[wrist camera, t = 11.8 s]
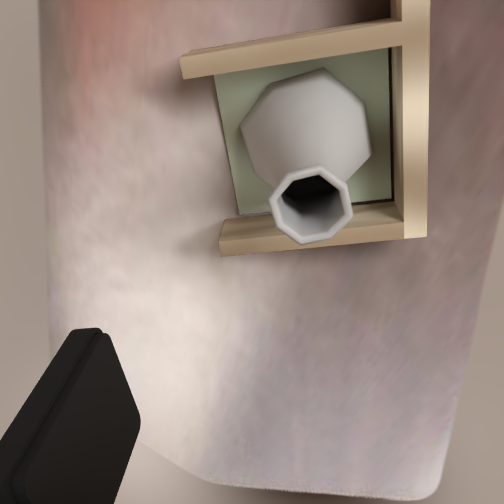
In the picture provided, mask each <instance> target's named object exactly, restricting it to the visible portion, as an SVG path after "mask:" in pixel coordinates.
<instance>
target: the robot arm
mask: <svg viewBox="0 0 504 504" xmlns="http://www.w3.org/2000/svg"><path fill="white" fill-rule="evenodd" d="M140 424H141V420H140V414H139V411H138V409H137V406H136V403H135V401H134V398H133V396H132V393H131V390H130V388H129V385H128V383H127V380H126V377H125V375H124V372H123V369H122V367H121V364H120V362H119V359H118V356H117V354H116V351H115V349H114V346H113V343H112V341H111V338H110V336H109V335H108V334H106V333H103V332H102V330H101V329H99V328H85V329H75V330H72V331H71V332H70V333H69V335H68V337H67V338H66V340H65V341H64V343H63V344H62V346H61V347H60V349H59V350H58V352H57V354H56V355H55V357H54V358H53V360H52V361H51V363H50V364H49V366H48V367H47V369H46V371H45V372H44V374H43V375H42V377H41V378H40V380H39V381H38V383H37V385H36V386H35V388H34V389H33V391H32V392H31V394H30V395H29V397H28V398H27V400H26V402H25V403H24V405H23V406H22V408H21V409H20V411H19V412H18V414H17V416H16V417H15V419H14V420H13V422H12V423H11V425H10V426H9V428H8V429H7V431H6V432H5V434H4V435H3V437H2V439H1V440H0V504H114V502H115V499H116V496H117V493H118V490H119V487H120V484H121V482H122V479H123V476H124V473H125V470H126V468H127V465H128V462H129V459H130V456H131V453H132V450H133V448H134V445H135V442H136V439H137V436H138V433H139V430H140Z"/></svg>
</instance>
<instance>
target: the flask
mask: <svg viewBox="0 0 504 504" xmlns="http://www.w3.org/2000/svg"><path fill="white" fill-rule="evenodd" d="M240 128H241V131H242V134H243V138H244V141H245V144H246V148H247V151H248V154H249V158H250V161H251V164H252V168H253V171H254V173H255V174H256V175H258V176H259V177H260V178H262V179H263V180H264V181H266V182H267V183H268V184H270V185H271V186H272V187H273V188H274V189H273V191H272V192H271V193H270V194H269V195H268V197H267V200H268V203H269V206H270V210H271V213H272V217H273V220H274V223H275V227H276V228H277V229H278V230H280V231H281V232H282V233H284V234H285V235H286V236H288V237H289V238H291V239H292V240H293V241H295V242H296V243H297V244H299V245H300V246H301V245H306V244H311V243H315V242H320V241H325V240H329V239H332V238H333V237H334V236H335V235H336V234H337V233H338V232H339V231H340V230H341V229H342V228H343V227H344V226H345V225H346V224H347V223H348V222H349V221H350V220H351V219H352V218H353V210H352V206H351V201H350V196H349V191H348V187H347V184H346V182H347V181H348V180H349V179H350V178H351V176H352V175H353V174H354V173H355V172H356V171H357V170H358V169H359V168H360V167H361V166H362V165H363V163H364V162H365V161H366V160H367V159H368V158H369V157H370V156H371V155H372V154H373V152H374V151H373V146H372V140H371V134H370V129H369V123H368V117H367V112H366V106H365V102H364V101H363V100H362V99H361V98H360V97H358V96H357V95H356V94H355V93H354V92H352V91H351V90H350V89H349V88H348V87H347V86H345V85H344V84H343V83H342V82H341V81H339V80H338V79H337V78H336V77H335V76H334V75H332V74H331V73H330V72H329V71H328V70H326V69H325V68H324V67H323V68H320V69H316V70H313V71H310V72H306V73H303V74H299V75H296V76H292V77H289V78H286V79H282V80H279V81H275V82H272V83H270V85H269V86H268V88H267V89H266V90H265V92H264V93H263V94H262V96H261V97H260V98H259V100H258V101H257V102H256V104H255V105H254V106H253V108H252V109H251V110H250V112H249V113H248V115H247V116H246V117H245V119H244V120H243V121H242V123H241V124H240Z"/></svg>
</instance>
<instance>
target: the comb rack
mask: <svg viewBox="0 0 504 504" xmlns="http://www.w3.org/2000/svg"><path fill="white" fill-rule="evenodd" d="M390 5H391V18H386V19H380V20H374V21H368V22H362V23H356V24H350V25H344V26H338V27H332V28H326V29H319V30H313V31H307V32H301V33H295V34H289V35H283V36H277V37H271V38H265V39H259V40H253V41H247V42H241V43H235V44H229V45H223V46H217V47H211V48H205V49H199V50H193V51H190V52H188V53H186V54H185V55H183V56H181V57H179V62H180V67H181V71H182V76H183V80H184V79H190V78H197V77H203V76H209V75H214V81H215V86H216V92H217V97H218V102H219V108H220V113H221V118H222V124H223V129H224V135H225V140H226V145H227V151H228V156H229V161H230V167H231V172H232V177H233V183H234V188H235V194H236V199H237V204H238V210H239V215H244V214H253V213H262V212H271V210H270V206H269V203H268V200H267V197H268V195H269V194H270V193H271V192H272V191H273V189H274V188H273V187H272V186H271V185H270V184H268V183H267V182H266V181H264V180H263V179H262V178H260V177H259V176H258V175H256V174H255V173H254V171H253V168H252V164H251V161H250V158H249V154H248V151H247V148H246V144H245V141H244V138H243V134H242V131H241V128H240V124H241V123H242V121H243V120H244V119H245V117H246V116H247V115H248V113H249V112H250V110H251V109H252V108H253V106H254V105H255V104H256V102H257V101H258V100H259V98H260V97H261V96H262V94H263V93H264V92H265V90H266V89H267V88H268V86H269V85H270V83H272V82H275V81H279V80H282V79H286V78H289V77H292V76H296V75H299V74H303V73H306V72H310V71H313V70H316V69H320V68H323V67H324V68H325V69H326V70H328V71H329V72H330V73H331V74H332V75H334V76H335V77H336V78H337V79H338V80H339V81H341V82H342V83H343V84H344V85H345V86H347V87H348V88H349V89H350V90H351V91H352V92H354V93H355V94H356V95H357V96H358V97H360V98H361V99H362V100H363V101H364V102H365V106H366V112H367V117H368V123H369V129H370V134H371V140H372V146H373V151H374V152H373V154H372V155H371V156H370V157H369V158H368V159H367V160H366V161H365V162H364V163H363V165H362V166H361V167H360V168H359V169H358V170H357V171H356V172H355V173H354V174H353V175H352V176H351V178H350V179H349V180H348V181H347V182H346V184H347V187H348V191H349V196H350V201H351V203H352V202H361V201H370V200H379V199H388V198H391V158H390V114H389V70H388V47H391V55H392V106H393V156H394V201H390V202H381V203H372V204H363V205H354V206H352V210H353V218H352V219H351V220H350V221H349V222H348V223H347V224H346V225H345V226H344V227H343V228H342V229H341V230H340V231H339V232H338V233H337V234H336V235H335V236H334V237H333V238H332V239H329V240H325V241H320V242H315V243H311V244H306V245H301V246H300V245H299V244H297V243H296V242H295V241H293V240H292V239H291V238H289V237H288V236H286V235H285V234H284V233H282V232H281V231H280V230H278V229H277V228H276V227H275V223H274V220H273V217H272V215H263V216H254V217H245V218H236V219H227V220H225V222H224V225H223V228H222V231H221V234H220V237H219V240H218V243H219V248H220V253H221V257H223V256H233V255H243V254H253V253H263V252H274V251H284V250H294V249H304V248H314V247H325V246H335V245H345V244H355V243H365V242H375V241H386V240H396V239H406V238H416V237H426V236H427V179H428V112H429V44H430V0H390Z"/></svg>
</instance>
